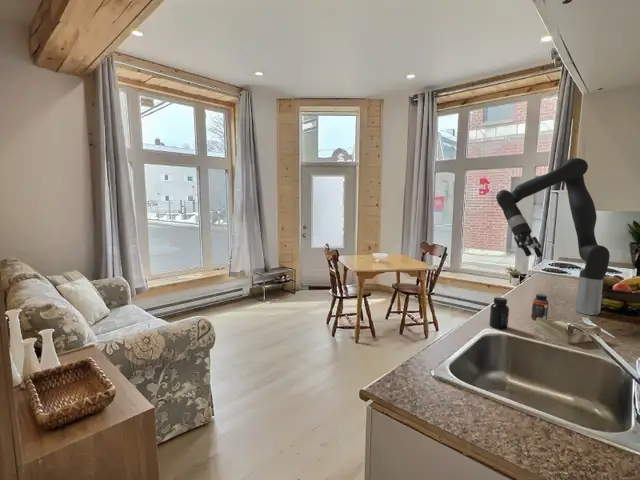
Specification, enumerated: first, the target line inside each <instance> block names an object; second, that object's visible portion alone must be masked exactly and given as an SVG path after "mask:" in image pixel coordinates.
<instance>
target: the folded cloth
mask: <svg viewBox="0 0 640 480" xmlns="http://www.w3.org/2000/svg"><path fill="white" fill-rule="evenodd" d="M567 323H572V322H570V321H569V320H566V319H565V320H555V321H550V320H545V319H543V318H540V317H537V318H536V320H535V327H534V331H537V332H539V333H541V334H544V335H546V336H549V337H550V338H552V339H555V340H558V342H559V341H560V342H562V343H564V344H567V345H570V344H571V343H572V344H579V343H578V342H581V343H587V342H586V341H590V339H589V338H588V337H587V336H586V335H584V334H583V333H581V332H580V331H578V330H576V329H574V330H573V333H572V334H570V333H568V330H567ZM583 327H584V328H586V329H588V330H589V331H591V332H593V333H594V334H596V335H597V336H599V337H600V336H601V332H602V331H601V328H602V327H601V326H599V325H597V326H593V325H591V326H583ZM600 338H601V337H600Z"/></svg>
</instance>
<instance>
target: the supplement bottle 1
mask: <svg viewBox="0 0 640 480" xmlns="http://www.w3.org/2000/svg"><path fill="white" fill-rule="evenodd" d="M489 311H490V312H489V323H488V324H489V326H490V327H491V328H493V329H496V330H497V329H498V330H506V329H508V326H509V315H510V307H509V306H508V299H507V298H504V297H499V296H498V297H493V303H492V304H491V305H490V309H489Z"/></svg>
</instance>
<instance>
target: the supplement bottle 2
mask: <svg viewBox="0 0 640 480" xmlns="http://www.w3.org/2000/svg"><path fill="white" fill-rule="evenodd" d="M547 298H548V296H547V295H546V294H542V293H536V294H535V298H533V300H532V307H531V315H530V316H531V319H532V320H534V321H536V318H537V317H540V318H543V319H545V320H547V319H548V311H549V303H550V302H549V301H548V300H547Z"/></svg>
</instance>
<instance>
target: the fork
mask: <svg viewBox="0 0 640 480" xmlns="http://www.w3.org/2000/svg"><path fill="white" fill-rule="evenodd" d="M582 321H583V322H584V323H585V324H586V325H590V326H598V324H595V323H593V321H591V320H590V319H589V317H588V316H587V317H583V316H582ZM600 332H603V333H604V334H606V335H608V336H610V337H611V338H615V339H616V337H615V336H614V335H613V334H611V333H609V332H608V331H606V330H605V329H603V328H602V327H601V331H600Z"/></svg>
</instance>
